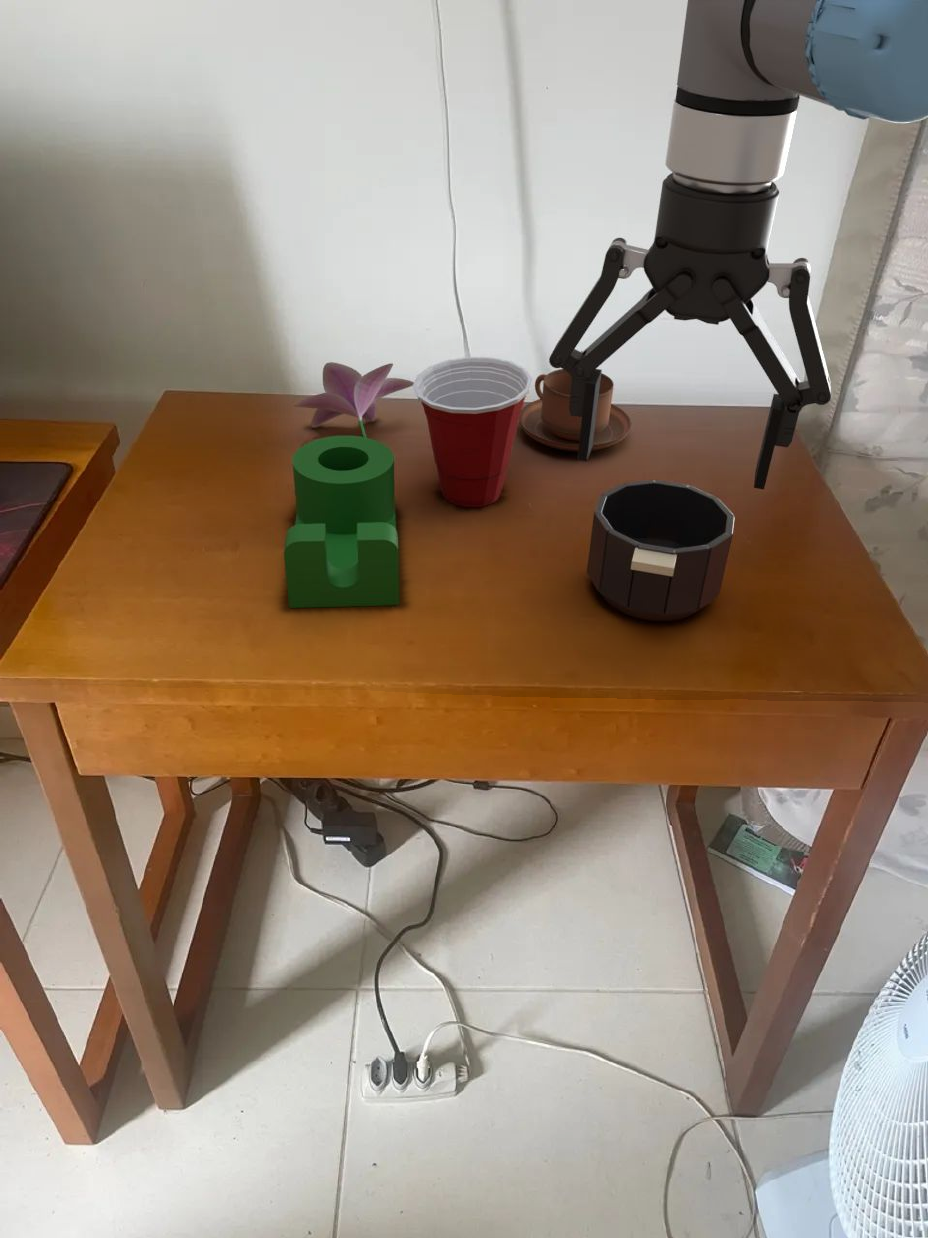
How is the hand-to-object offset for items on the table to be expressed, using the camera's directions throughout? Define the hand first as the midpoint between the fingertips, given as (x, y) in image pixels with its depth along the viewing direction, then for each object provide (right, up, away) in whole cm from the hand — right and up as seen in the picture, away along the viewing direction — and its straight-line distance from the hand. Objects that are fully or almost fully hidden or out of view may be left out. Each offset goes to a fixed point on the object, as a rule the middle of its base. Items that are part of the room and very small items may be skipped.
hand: (670, 466), depth 77 cm
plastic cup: (-16, 0, +19) cm, 25 cm away
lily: (-28, +7, +28) cm, 40 cm away
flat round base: (0, -9, +7) cm, 12 cm away
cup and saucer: (-4, +8, +30) cm, 31 cm away
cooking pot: (0, -8, +6) cm, 10 cm away
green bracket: (-27, -6, +11) cm, 30 cm away
